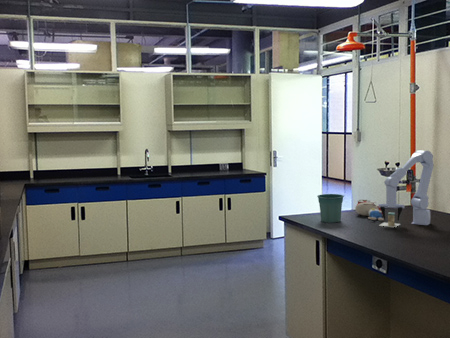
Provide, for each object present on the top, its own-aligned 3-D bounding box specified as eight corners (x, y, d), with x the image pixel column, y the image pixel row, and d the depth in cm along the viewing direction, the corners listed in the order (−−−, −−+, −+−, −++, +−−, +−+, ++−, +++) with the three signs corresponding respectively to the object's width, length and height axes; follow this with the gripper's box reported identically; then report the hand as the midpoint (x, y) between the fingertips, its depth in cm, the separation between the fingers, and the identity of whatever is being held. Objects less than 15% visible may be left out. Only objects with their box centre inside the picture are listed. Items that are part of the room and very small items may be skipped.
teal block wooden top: (394, 224, 302) (394, 212, 301) (394, 226, 296) (394, 214, 296) (388, 223, 303) (388, 212, 302) (388, 225, 297) (388, 214, 297)
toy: (360, 209, 313) (354, 197, 342) (358, 225, 315) (352, 211, 344) (391, 212, 311) (381, 199, 340) (389, 228, 313) (380, 213, 342)
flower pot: (333, 224, 307) (333, 198, 305) (312, 221, 319) (311, 196, 318) (349, 220, 318) (349, 195, 316) (327, 217, 330) (327, 193, 329)
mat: (400, 224, 302) (400, 223, 302) (395, 227, 294) (395, 226, 294) (383, 223, 308) (383, 222, 307) (378, 226, 299) (378, 225, 299)
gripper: (404, 196, 300) (404, 219, 301) (378, 195, 305) (378, 218, 306) (404, 198, 293) (404, 221, 294) (378, 197, 298) (378, 220, 299)
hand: (391, 219), depth 300 cm, fingers open, 7 cm apart
